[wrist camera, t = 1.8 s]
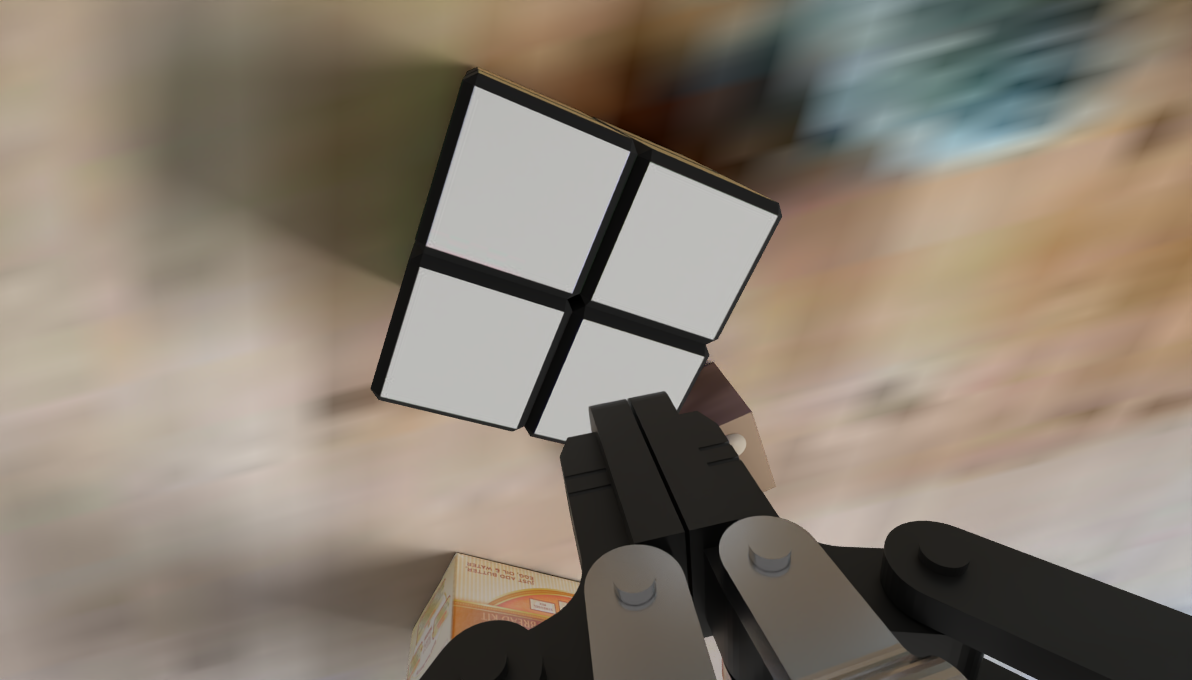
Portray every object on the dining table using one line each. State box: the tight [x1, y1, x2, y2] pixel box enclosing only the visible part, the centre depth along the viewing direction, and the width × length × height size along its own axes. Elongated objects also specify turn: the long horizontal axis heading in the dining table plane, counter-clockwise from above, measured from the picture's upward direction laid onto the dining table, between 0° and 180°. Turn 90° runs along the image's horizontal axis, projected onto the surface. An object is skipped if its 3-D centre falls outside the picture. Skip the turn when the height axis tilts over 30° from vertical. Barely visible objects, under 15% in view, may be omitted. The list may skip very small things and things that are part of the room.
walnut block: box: [679, 362, 776, 492], centre depth 30 cm, size 5×5×5 cm
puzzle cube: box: [371, 67, 782, 444], centre depth 22 cm, size 10×10×10 cm
